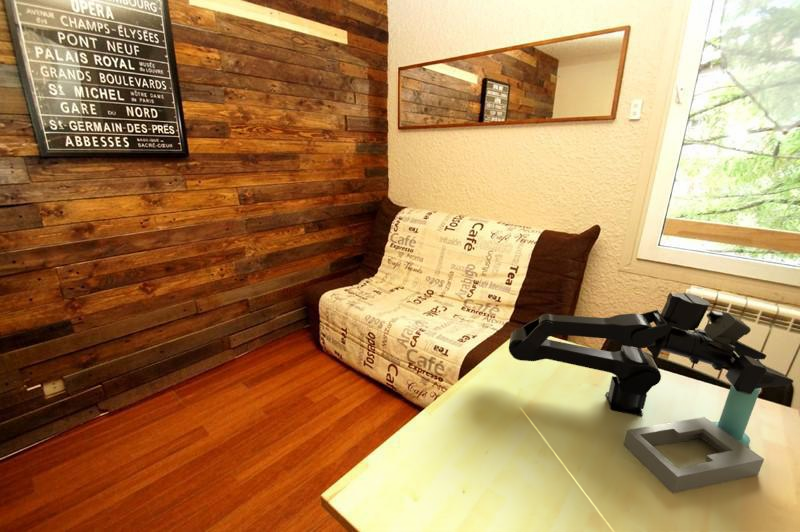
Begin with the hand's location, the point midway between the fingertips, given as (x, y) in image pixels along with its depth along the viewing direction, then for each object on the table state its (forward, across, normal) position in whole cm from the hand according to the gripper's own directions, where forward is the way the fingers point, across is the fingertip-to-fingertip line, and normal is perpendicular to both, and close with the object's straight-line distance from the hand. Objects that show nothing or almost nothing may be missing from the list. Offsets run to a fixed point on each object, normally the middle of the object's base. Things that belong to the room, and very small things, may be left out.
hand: (777, 369), depth 71 cm
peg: (-3, -4, +16) cm, 17 cm away
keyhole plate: (-13, -14, +18) cm, 26 cm away
